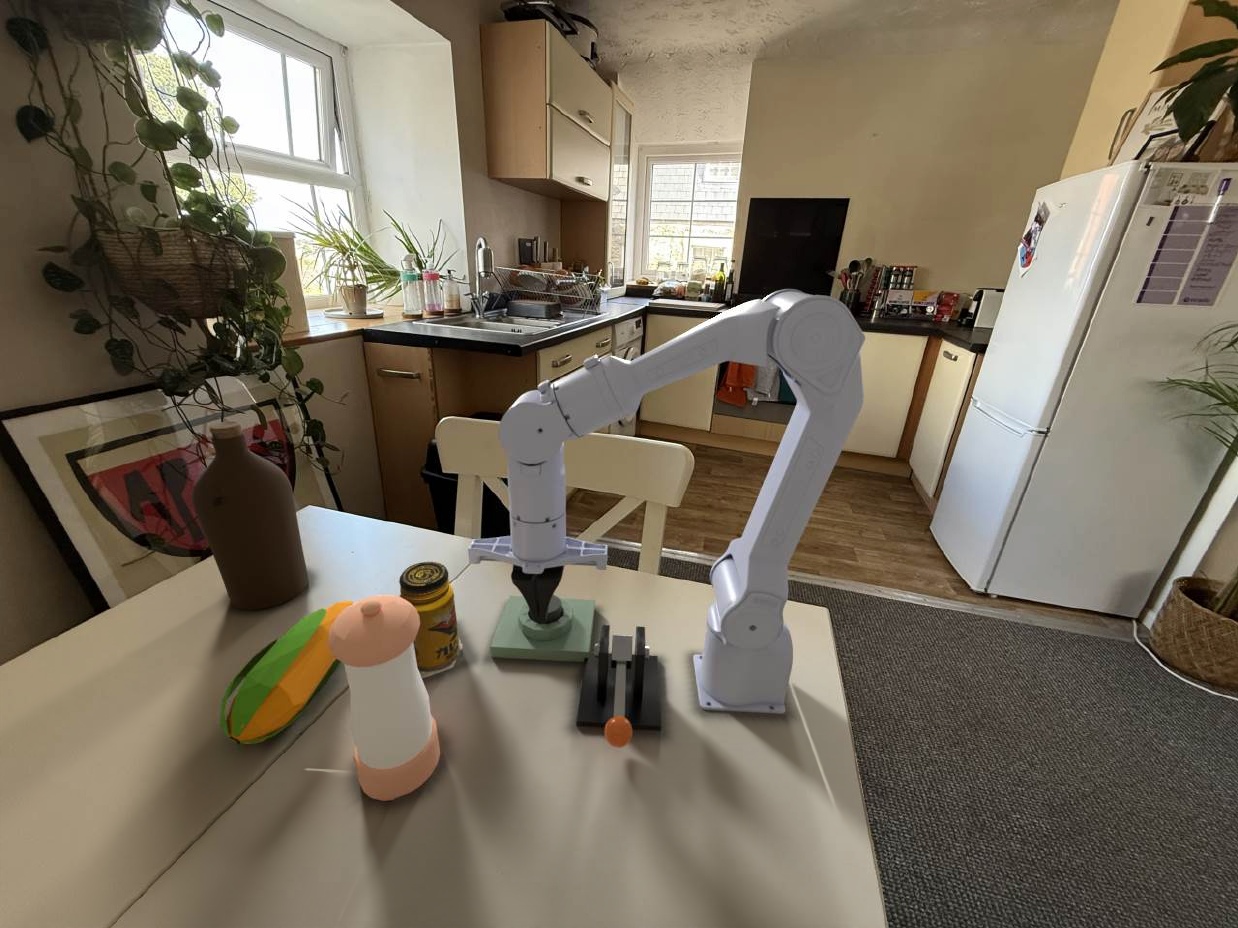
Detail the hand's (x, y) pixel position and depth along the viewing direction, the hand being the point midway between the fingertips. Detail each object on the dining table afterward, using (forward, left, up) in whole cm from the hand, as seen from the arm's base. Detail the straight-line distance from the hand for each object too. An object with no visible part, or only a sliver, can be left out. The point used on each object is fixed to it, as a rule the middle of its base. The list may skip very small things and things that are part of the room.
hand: (540, 616), depth 56 cm
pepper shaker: (+12, +12, -9) cm, 19 cm away
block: (+1, -7, -8) cm, 11 cm away
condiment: (+15, -2, -9) cm, 17 cm away
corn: (+27, +3, -9) cm, 28 cm away
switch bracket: (-9, +2, -8) cm, 13 cm away
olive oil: (+42, -13, -9) cm, 45 cm away
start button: (+1, -7, -5) cm, 9 cm away
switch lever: (-9, +5, -5) cm, 12 cm away
